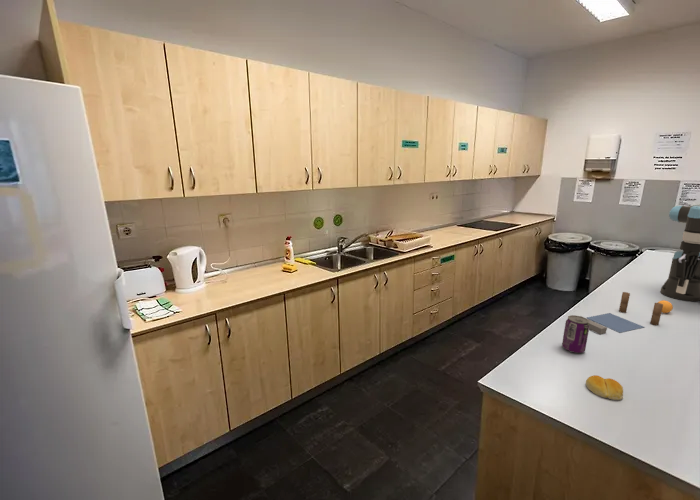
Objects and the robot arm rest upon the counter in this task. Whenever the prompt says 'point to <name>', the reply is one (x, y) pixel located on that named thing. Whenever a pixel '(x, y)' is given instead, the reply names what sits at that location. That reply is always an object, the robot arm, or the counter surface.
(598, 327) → the stopper
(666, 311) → the ball
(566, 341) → the beverage can
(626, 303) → the post
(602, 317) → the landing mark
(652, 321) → the post
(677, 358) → the counter surface
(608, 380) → the bread roll
